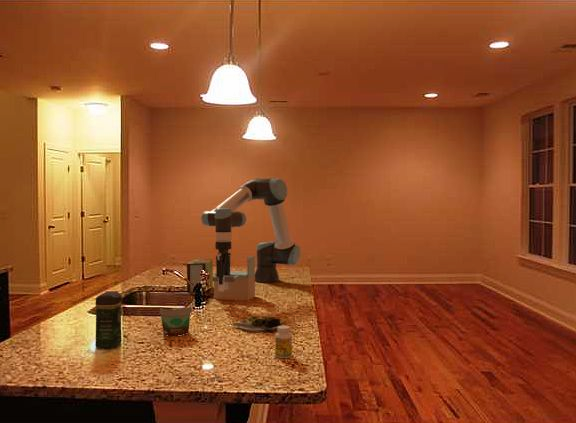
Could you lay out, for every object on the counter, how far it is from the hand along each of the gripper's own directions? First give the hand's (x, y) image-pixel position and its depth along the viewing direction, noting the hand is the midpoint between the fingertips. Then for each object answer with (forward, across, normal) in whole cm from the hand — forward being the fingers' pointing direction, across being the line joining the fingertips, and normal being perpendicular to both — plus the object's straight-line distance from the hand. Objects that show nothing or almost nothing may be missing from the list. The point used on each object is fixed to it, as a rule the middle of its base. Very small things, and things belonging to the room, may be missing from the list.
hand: (223, 290), depth 237 cm
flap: (-4, -10, 0) cm, 10 cm away
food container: (+7, +52, +2) cm, 52 cm away
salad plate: (+7, +34, +29) cm, 45 cm away
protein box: (+7, -30, -25) cm, 40 cm away
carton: (+7, -16, 0) cm, 17 cm away
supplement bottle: (+7, +66, +46) cm, 81 cm away
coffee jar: (+7, +70, -15) cm, 72 cm away
